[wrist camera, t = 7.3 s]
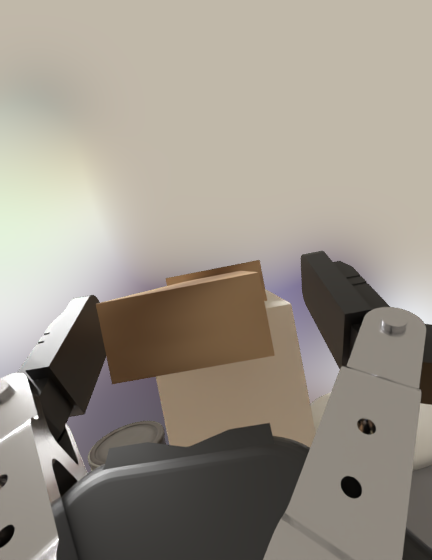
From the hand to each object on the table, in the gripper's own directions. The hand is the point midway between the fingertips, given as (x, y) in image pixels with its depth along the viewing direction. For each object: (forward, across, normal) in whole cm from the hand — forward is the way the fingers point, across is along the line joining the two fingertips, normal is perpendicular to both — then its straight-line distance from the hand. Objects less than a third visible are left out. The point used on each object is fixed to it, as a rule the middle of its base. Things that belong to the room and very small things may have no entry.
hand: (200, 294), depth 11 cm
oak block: (+5, 0, +5) cm, 7 cm away
